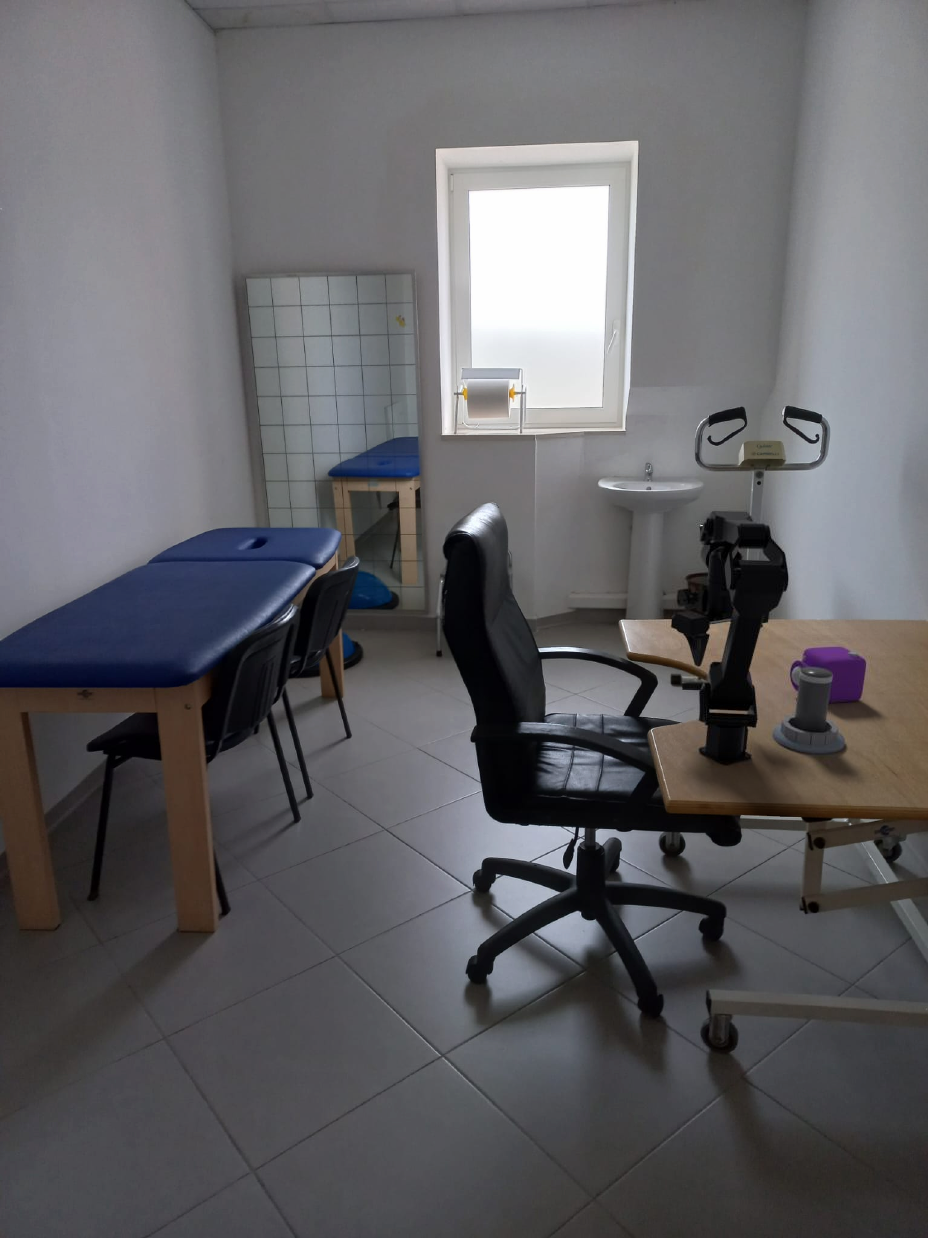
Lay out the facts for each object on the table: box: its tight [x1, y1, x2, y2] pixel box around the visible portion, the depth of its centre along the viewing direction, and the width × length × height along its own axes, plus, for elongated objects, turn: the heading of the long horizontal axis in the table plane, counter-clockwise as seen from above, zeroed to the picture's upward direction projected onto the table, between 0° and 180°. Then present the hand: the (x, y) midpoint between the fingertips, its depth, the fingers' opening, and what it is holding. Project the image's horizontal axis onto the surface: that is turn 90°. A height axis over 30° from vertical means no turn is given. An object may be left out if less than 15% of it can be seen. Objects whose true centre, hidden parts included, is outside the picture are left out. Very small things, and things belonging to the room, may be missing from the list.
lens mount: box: [772, 714, 846, 755], centre depth 153 cm, size 12×12×3 cm
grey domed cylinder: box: [794, 667, 833, 733], centre depth 152 cm, size 5×5×12 cm
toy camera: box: [789, 646, 867, 704], centre depth 173 cm, size 11×14×10 cm
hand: (716, 662), depth 158 cm, fingers open, 9 cm apart
